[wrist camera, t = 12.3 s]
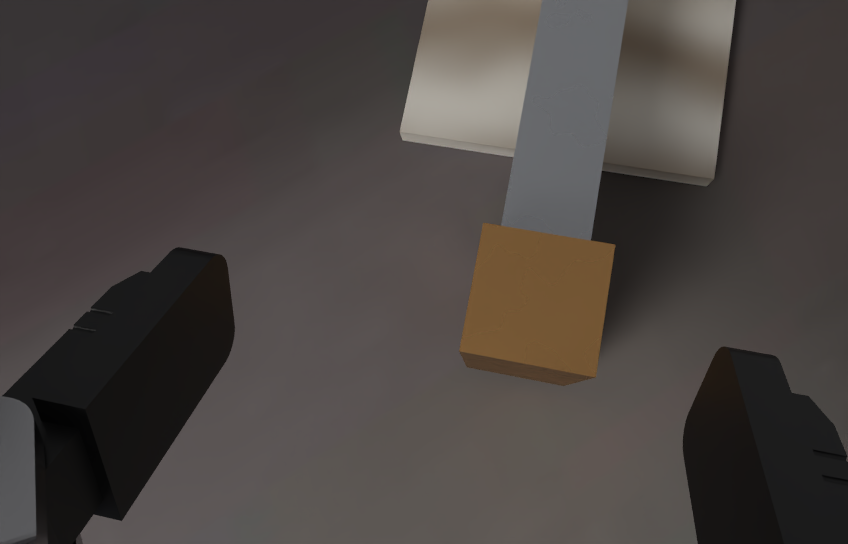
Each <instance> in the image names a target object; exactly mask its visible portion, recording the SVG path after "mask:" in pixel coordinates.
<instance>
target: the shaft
mask: <svg viewBox="0 0 848 544" xmlns="http://www.w3.org/2000/svg"><path fill="white" fill-rule="evenodd" d="M627 5H628V0H542V4H541V10H540V15H539V21H538V26H537V32H536V37H535V43H534V48H533V54H532V59H531V65H530V70H529V76H528V81H527V87H526V92H525V98H524V103H523V109H522V114H521V120H520V125H519V131H518V136H517V141H516V147H515V152H514V158H513V163H512V169H511V174H510V180H509V185H508V191H507V196H506V202H505V207H504V213H503V218H502V224H501V226H500V225H494V224H488V223H483V227H482V233H481V238H480V243H479V249H478V254H477V260H476V265H475V270H474V276H473V281H472V286H471V292H470V297H469V302H468V308H467V313H466V318H465V324H464V329H463V334H462V340H461V345H460V350H459V352H460V354H461V356H462V358H463V360H464V362H465V364H466V366H467V367H469V368H474V369H479V370H484V371H490V372H495V373H500V374H505V375H510V376H515V377H520V378H526V379H531V380H536V381H541V382H546V383H551V384H556V385H562V386H565V385H569V384H573V383H576V382H580V381H584V380H588V379H591V378H595V377H596V372H597V366H598V359H599V352H600V345H601V339H602V332H603V325H604V318H605V312H606V305H607V298H608V291H609V285H610V278H611V271H612V264H613V258H614V251H615V244H609V243H603V242H597V241H591V236H592V230H593V224H594V217H595V211H596V204H597V198H598V191H599V185H600V179H601V172H602V166H603V159H604V153H605V146H606V140H607V134H608V127H609V121H610V114H611V108H612V102H613V95H614V89H615V82H616V76H617V69H618V63H619V57H620V50H621V44H622V37H623V31H624V24H625V18H626V12H627Z"/></svg>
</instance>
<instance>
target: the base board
mask: <svg viewBox="0 0 848 544" xmlns="http://www.w3.org/2000/svg"><path fill="white" fill-rule="evenodd" d="M541 4H542V0H428V4H427V9H426V13H425V18H424V23H423V27H422V32H421V36H420V41H419V46H418V50H417V55H416V59H415V64H414V69H413V73H412V78H411V82H410V87H409V92H408V96H407V101H406V105H405V110H404V115H403V119H402V124H401V128H400V134H401V137H402V140H403V141H410V142H416V143H423V144H430V145H436V146H443V147H449V148H456V149H463V150H469V151H476V152H482V153H489V154H495V155H502V156H509V157H514V152H515V147H516V141H517V136H518V131H519V125H520V120H521V114H522V109H523V103H524V98H525V92H526V87H527V81H528V76H529V70H530V65H531V59H532V54H533V48H534V43H535V37H536V32H537V26H538V21H539V15H540V10H541ZM735 5H736V0H628V5H627V12H626V18H625V24H624V31H623V37H622V44H621V50H620V57H619V63H618V69H617V76H616V82H615V89H614V95H613V102H612V108H611V114H610V121H609V127H608V134H607V140H606V146H605V153H604V159H603V166H602V171H607V172H614V173H621V174H627V175H634V176H640V177H647V178H654V179H660V180H667V181H673V182H680V183H687V184H693V185H700V186H706V187H707V186H708V185H709V184H710V183H711V182H712V181H713V180H714V177H715V168H716V160H717V152H718V144H719V136H720V128H721V119H722V111H723V103H724V95H725V87H726V78H727V70H728V62H729V54H730V46H731V38H732V29H733V21H734V13H735Z"/></svg>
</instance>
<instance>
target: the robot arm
mask: <svg viewBox="0 0 848 544" xmlns="http://www.w3.org/2000/svg"><path fill="white" fill-rule="evenodd" d="M234 332H235V325H234V316H233V307H232V299H231V291H230V283H229V274H228V267H227V262H226V260H225V258H224V257H223V256H222V255H219V254H214V253H208V252H203V251H197V250H191V249H186V248H180V247H178V248H175V249H173V250H172V251H171V252H170V253H169V254H168V255H167V256H166V257H165V258H164V259H163V260H162V261H161V262H160V263H159V264H158V265H157V266H156V267H155V268H154V269H153V271H152V272H151V273H149V272H144V271H140V272H138V273H137V274H135V275H133V276H131V277H129V278H127V279H125V280H124V281H122V282H120V283H118V284H116V285H114V286H112V287H111V288H110V289H109V290H108V291H107V292H106V293H105V294H104V295H103V296H102V297H101V298H100V299H99V300H98V301H97V302H96V303H95V304H94V305H93V306H92V307H91V311H90V312H86V313H85V314H84V315H83V316H82V317H81V318H80V319H79V320H78V321H77V322H76V323H75V324H74V328H73V329H72V330H71V329H69V330H68V331H67V332H66V333H65V334H64V335H63V336H62V337H61V338H60V339H59V340H58V341H57V342H56V343H55V344H54V345H53V346H52V347H51V348H50V349H49V350H48V351H47V352H46V353H45V354H44V355H43V356H42V357H41V358H40V359H39V360H38V361H37V362H36V363H35V364H34V365H33V366H32V367H31V368H30V369H29V370H28V371H27V372H26V373H25V374H24V375H23V376H22V377H21V378H20V379H19V380H18V381H17V382H16V383H15V384H14V385H13V386H12V387H11V388H10V389H9V390H8V391H7V392H6V393H5V394H4V395H3V396H0V544H83V542H82V537H81V535H80V533H81V531H82V530H83V528H84V527H85V525H86V524H87V523H88V521H89V520H90V518H91V517H92V515H93V514H95V515H99V516H103V517H107V518H112V519H116V520H120V521H122V520H123V518H124V517H125V515H126V513H127V512H128V510H129V509H130V507H131V506H132V504H133V503H134V501H135V500H136V498H137V497H138V495H139V494H140V492H141V490H142V489H143V487H144V486H145V484H146V483H147V481H148V480H149V478H150V477H151V475H152V474H153V472H154V471H155V469H156V468H157V466H158V464H159V463H160V461H161V460H162V458H163V457H164V455H165V454H166V452H167V451H168V449H169V448H170V446H171V445H172V443H173V442H174V440H175V438H176V437H177V435H178V434H179V432H180V431H181V429H182V428H183V426H184V425H185V423H186V422H187V420H188V419H189V417H190V415H191V414H192V412H193V411H194V409H195V408H196V406H197V405H198V403H199V402H200V400H201V399H202V397H203V396H204V394H205V393H206V391H207V389H208V388H209V386H210V385H211V383H212V382H213V380H214V379H215V377H216V376H217V374H218V373H219V371H220V370H221V368H222V367H223V365H224V363H225V362H226V360H227V358H228V356H229V354H230V351H231V348H232V344H233V340H234ZM683 455H684V461H685V467H686V474H687V480H688V486H689V492H690V498H691V504H692V510H693V517H694V523H695V529H696V535H697V541H698V544H848V462H847V461H846V458H847V455H846V452H845V450H844V447H843V445H842V443H841V440H840V438H839V435H838V433H837V431H836V428H835V426H834V424H833V423H832V422H831V421H830V420H829V419H828V418H827V417H826V415H825V414H824V413H823V412H822V411H821V410H820V409H819V408H818V406H817V405H816V404H815V403H814V402H813V401H812V400H811V399H810V397H809V396H805V395H799V394H794V393H791V390H790V387H789V385H788V382H787V379H786V376H785V374H784V371H783V368H782V366H781V363H780V361H779V359H778V358H777V357H776V356H773V355H768V354H763V353H757V352H752V351H746V350H740V349H735V348H729V347H721V348H720V349H719V350H718V351H717V352H716V354H715V356H714V358H713V360H712V362H711V364H710V367H709V369H708V371H707V373H706V375H705V378H704V380H703V382H702V384H701V387H700V389H699V391H698V393H697V395H696V398H695V400H694V402H693V404H692V407H691V409H690V411H689V413H688V416H687V419H686V423H685V428H684V434H683Z"/></svg>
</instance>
